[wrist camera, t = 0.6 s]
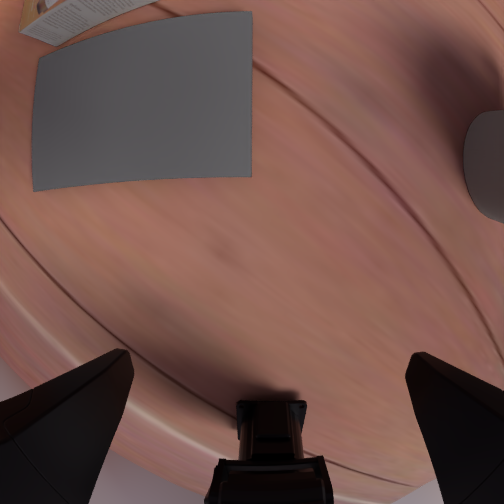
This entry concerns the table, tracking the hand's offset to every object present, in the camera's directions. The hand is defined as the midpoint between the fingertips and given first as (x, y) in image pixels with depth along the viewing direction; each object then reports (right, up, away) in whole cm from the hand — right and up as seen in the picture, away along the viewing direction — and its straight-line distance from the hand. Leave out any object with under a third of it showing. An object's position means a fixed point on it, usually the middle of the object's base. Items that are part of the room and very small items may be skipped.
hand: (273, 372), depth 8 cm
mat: (-10, +14, +9) cm, 20 cm away
